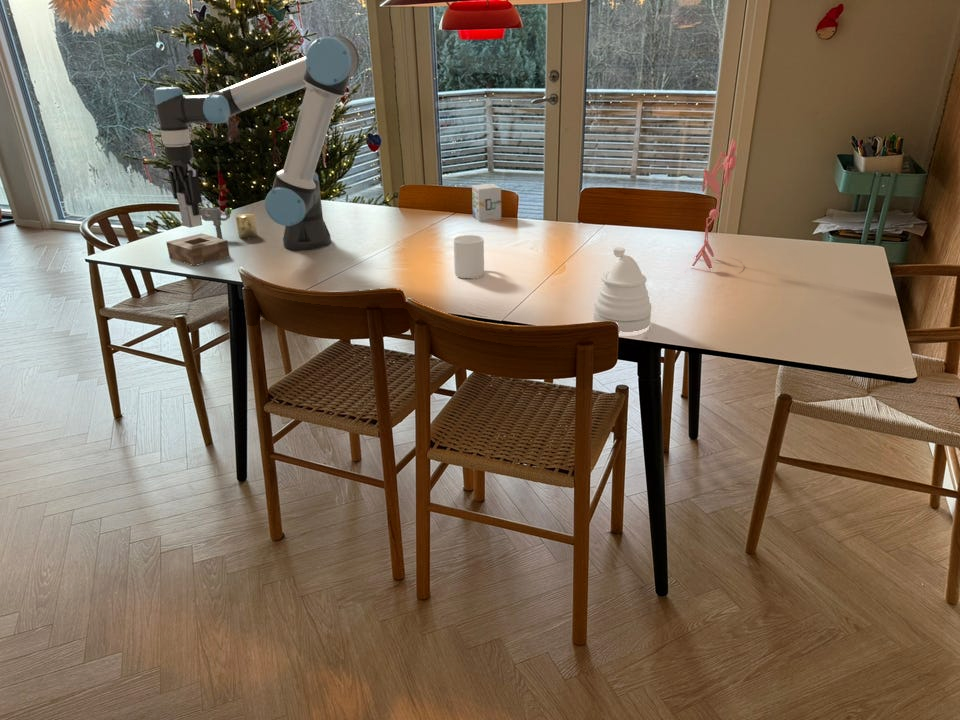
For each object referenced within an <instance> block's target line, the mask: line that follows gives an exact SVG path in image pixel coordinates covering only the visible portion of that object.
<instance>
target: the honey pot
mask: <svg viewBox="0 0 960 720" xmlns="http://www.w3.org/2000/svg"><path fill="white" fill-rule="evenodd" d="M612 249H613V255H614V256H615V257H616V258H619V259H617V261H616V262H614V264H613V265H612V267H611V269H610V270H609V271H607V272H605V273H603V274H602V275H601V277H600V278H601V281H602V282H603V284H602V287H600V290H599V293H598V295H597V298H596V300H595V303H594V308H593V309H594V311H593V321H614V322H617V323H618V325H619V332H620V331H622V332H633V331H639V330H642V329H645V328H647V327H648V326H649V325H650V326H651V316H652V314H651V313H652V303H651V302H650V296H649V291H648V289H647V286H646V283H647V277H646V275H644V274H643V273H642V271H641V269H640V267H639V265H638V263H637V262H636V260H635V259H634V258H633V257H631V256H630V255H625V252H626V248H625V247H620V246H618V247H613V248H612Z"/></svg>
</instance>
